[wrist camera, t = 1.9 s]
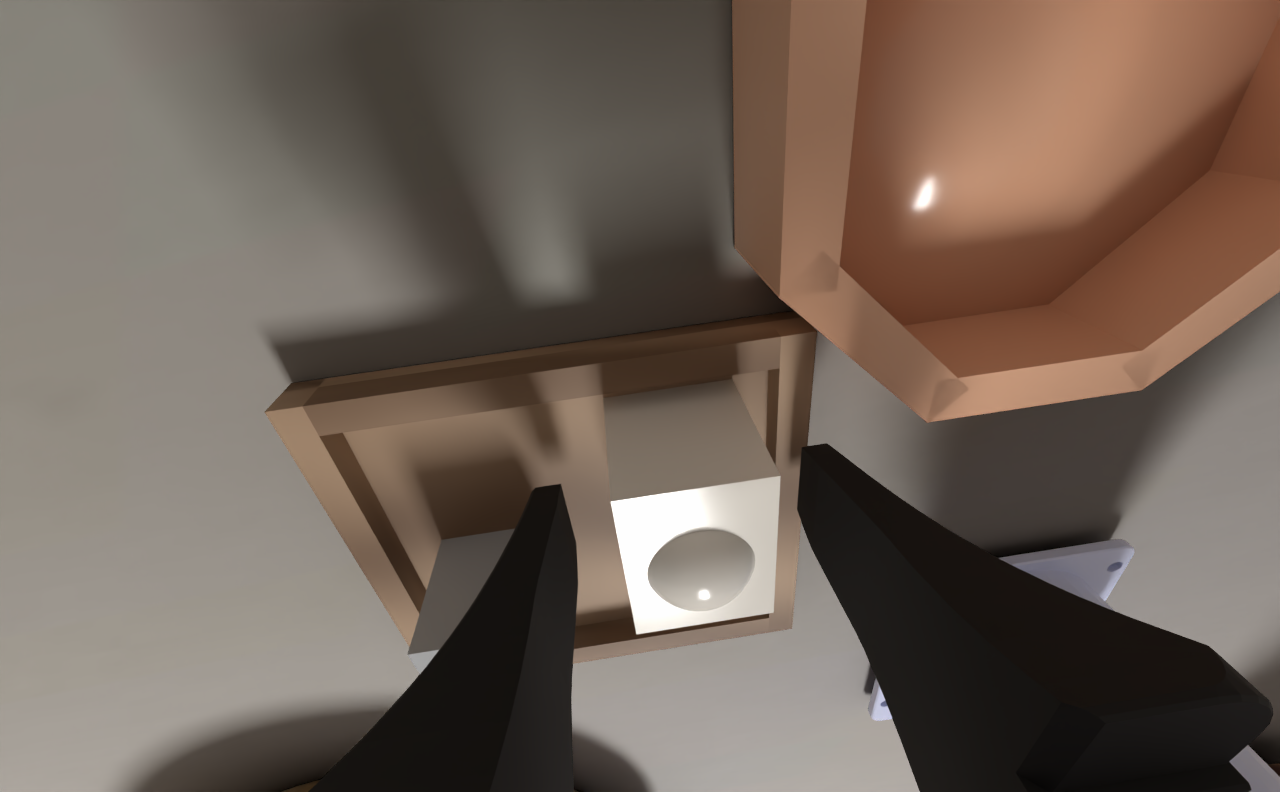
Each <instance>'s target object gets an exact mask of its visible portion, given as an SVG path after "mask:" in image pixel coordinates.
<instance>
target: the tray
mask: <svg viewBox="0 0 1280 792" xmlns="http://www.w3.org/2000/svg"><path fill="white" fill-rule="evenodd" d="M816 337H817V331H816V330H815V329H814V328H813V327H812V326H811V324H810V323H809V322H807V321H806V320H805V319H804V318H803V317H802V316H800V315H799V314H798V313H797V312H796V311H788V312H781V313H774V314H768V315H761V316H754V317H747V318H740V319H733V320H726V321H719V322H712V323H705V324H698V325H691V326H685V327H678V328H671V329H664V330H657V331H650V332H643V333H636V334H629V335H622V336H615V337H608V338H602V339H595V340H588V341H581V342H574V343H567V344H560V345H553V346H546V347H539V348H532V349H525V350H519V351H512V352H505V353H498V354H491V355H484V356H477V357H470V358H463V359H456V360H449V361H442V362H436V363H429V364H422V365H415V366H408V367H401V368H394V369H387V370H380V371H373V372H366V373H359V374H353V375H346V376H339V377H332V378H325V379H318V380H311V381H304V382H297V383H291V384H290V385H289V386H288V387H287V389H286V390H285V391H284V392H283V393H282V394H281V395H280V396H279V397H278V398H277V399H276V400H275V401H274V402H273V404H272V405H271V406H270V407H269V408H268V409H267V410H266V411H265V413H266V415H267V417H268V418H269V420H270V422H271V423H272V425H273V426H274V428H275V430H276V431H277V433H278V435H279V436H280V438H281V439H282V441H283V443H284V444H285V446H286V448H287V449H288V451H289V452H290V454H291V456H292V457H293V459H294V461H295V462H296V464H297V465H298V467H299V469H300V470H301V472H302V473H303V475H304V477H305V478H306V480H307V482H308V483H309V485H310V486H311V488H312V490H313V491H314V493H315V495H316V496H317V498H318V499H319V501H320V503H321V504H322V506H323V508H324V509H325V511H326V512H327V514H328V516H329V517H330V519H331V521H332V522H333V524H334V525H335V527H336V529H337V530H338V532H339V534H340V535H341V537H342V538H343V540H344V542H345V543H346V545H347V546H348V548H349V550H350V551H351V553H352V555H353V556H354V558H355V559H356V561H357V563H358V564H359V566H360V568H361V569H362V571H363V572H364V574H365V576H366V577H367V579H368V581H369V582H370V584H371V585H372V587H373V589H374V590H375V592H376V594H377V595H378V597H379V598H380V600H381V602H382V603H383V605H384V606H385V608H386V610H387V611H388V613H389V615H390V616H391V618H392V619H393V621H394V623H395V624H396V626H397V628H398V629H399V631H400V632H401V634H402V636H403V637H404V639H405V641H406V642H407V644H408V645H409V647H410V644H411V641H412V638H413V634H414V631H415V627H416V624H417V621H418V617H419V614H420V611H421V607H422V604H423V601H424V597H425V594H426V590H427V587H428V584H429V580H430V577H431V574H432V570H433V567H434V564H435V560H436V557H437V553H438V550H439V547H440V543H441V540H444V539H450V538H457V537H464V536H470V535H477V534H483V533H490V532H496V531H503V530H509V529H515V528H516V526H517V523H518V521H519V519H520V517H521V515H522V513H523V511H524V508H525V506H526V504H527V502H528V499H529V497H530V494H531V492H532V491H533V490H534V489H535V488H536V487H543V486H549V485H556V484H561V486H562V490H563V494H564V498H565V501H566V505H567V509H568V513H569V517H570V521H571V525H572V528H573V532H574V536H575V540H576V546H577V566H578V595H577V610H576V625H575V639H574V654H573V664H574V663H581V662H587V661H593V660H599V659H606V658H612V657H618V656H624V655H630V654H637V653H643V652H649V651H655V650H662V649H668V648H674V647H680V646H687V645H693V644H699V643H705V642H712V641H718V640H724V639H730V638H737V637H743V636H749V635H755V634H762V633H768V632H774V631H780V630H787V629H792V622H793V610H794V598H795V586H796V575H797V563H798V551H799V539H800V527H801V519H800V516H799V514H798V511H797V502H798V489H799V476H800V463H801V450H802V447H807V444H808V432H809V420H810V408H811V397H812V385H813V373H814V361H815V349H816ZM729 379H732V380H733V382H734V384H735V386H736V388H737V390H738V392H739V394H740V396H741V398H742V400H743V402H744V404H745V406H746V408H747V410H748V412H749V414H750V416H751V418H752V420H753V422H754V424H755V426H756V428H757V430H758V432H759V434H760V436H761V438H762V440H763V442H764V444H765V446H766V448H767V450H768V452H769V454H770V456H771V458H772V460H773V462H774V464H775V466H776V468H777V470H778V472H779V474H780V476H781V477H780V496H779V516H778V536H777V556H776V576H775V596H774V613H768V614H762V615H756V616H750V617H743V618H737V619H731V620H724V621H718V622H712V623H706V624H699V625H693V626H687V627H680V628H674V629H668V630H662V631H655V632H649V633H643V634H636V630H635V624H634V619H633V614H632V609H631V604H630V599H629V594H628V588H627V583H626V578H625V573H624V568H623V563H622V558H621V552H620V547H619V542H618V537H617V532H616V527H615V522H614V516H613V511H612V506H611V500H610V486H609V472H608V458H607V444H606V430H605V416H604V403H603V398H607V397H614V396H621V395H627V394H634V393H641V392H648V391H655V390H661V389H668V388H675V387H682V386H688V385H695V384H702V383H709V382H716V381H722V380H729Z"/></svg>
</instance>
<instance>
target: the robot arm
mask: <svg viewBox="0 0 1280 792" xmlns="http://www.w3.org/2000/svg"><path fill="white" fill-rule="evenodd" d="M797 511H798V514H799V516H800V519H801V522H802V525H803V527H804V530H805V533H806V535H807V538H808V540H809V543H810V545H811V548H812V550H813V552H814V554H815V556H816V558H817V560H818V561H819V563H820V565H821V567H822V569H823V571H824V573H825V575H826V577H827V579H828V581H829V582H830V584H831V586H832V588H833V590H834V592H835V594H836V596H837V598H838V599H839V601H840V603H841V605H842V607H843V609H844V611H845V613H846V614H847V616H848V618H849V620H850V622H851V624H852V626H853V628H854V630H855V631H856V633H857V635H858V638H859V640H860V642H861V644H862V646H863V648H864V650H865V652H866V655H867V657H868V659H869V662H870V664H871V667H872V669H873V672H874V674H875V676H876V679H875V683H874V687H873V691H872V694H871V698H870V702H869V706H868V711H869V714H870V716H871V718H872V719H873V720H877V721H882V720H888V719H893V721H894V724H895V726H896V729H897V731H898V734H899V737H900V739H901V742H902V744H903V747H904V750H905V753H906V755H907V758H908V761H909V763H910V766H911V769H912V772H913V774H914V777H915V780H916V782H917V785H918V788H919V791H920V792H1280V777H1279V776H1278V775H1277V774H1276V773H1275V772H1274V771H1273V770H1272V769H1271V768H1270V767H1269V766H1268V765H1267V764H1266V763H1265V762H1264V761H1263V760H1262V759H1261V758H1260V757H1259V756H1258V755H1257V754H1256V753H1255V752H1254V751H1253V750H1252V749H1251V748H1250V747H1249V746H1248V745H1249V744H1250V743H1251V742H1252V741H1253V740H1254V739H1255V738H1256V737H1258V736H1259V735H1260V734H1261V733H1262V732H1263V731H1264V729H1265V728H1266V727H1267V726H1268V725H1269V724H1270V721H1271V718H1272V716H1273V708H1272V706H1271V703H1270V701H1269V700H1268V699H1267V698H1266V697H1265V696H1264V695H1263V694H1261V693H1260V692H1259V691H1258V690H1257V689H1256V688H1255V687H1254V686H1253V685H1252V684H1250V683H1249V682H1248V681H1247V680H1246V679H1245V678H1244V677H1243V676H1242V675H1241V674H1239V673H1238V672H1237V671H1236V670H1235V669H1234V668H1233V667H1232V666H1231V665H1229V664H1228V663H1227V662H1226V661H1225V660H1224V659H1223V658H1222V657H1221V656H1220V655H1218V654H1217V653H1216V652H1215V651H1214V650H1213V649H1211V648H1210V647H1209V646H1207V645H1205V644H1202V643H1199V642H1196V641H1194V640H1191V639H1188V638H1185V637H1182V636H1180V635H1177V634H1174V633H1171V632H1169V631H1166V630H1163V629H1160V628H1158V627H1155V626H1152V625H1149V624H1147V623H1144V622H1141V621H1138V620H1136V619H1133V618H1130V617H1128V616H1125V615H1123V614H1120V613H1118V612H1115V611H1114V610H1113V609H1112V608H1111V607H1110V606H1109V605H1108V604H1107V603H1106V602H1105V601H1106V599H1107V597H1108V596H1109V594H1110V593H1111V591H1112V589H1113V588H1114V586H1115V584H1116V583H1117V581H1118V579H1119V578H1120V576H1121V575H1122V573H1123V571H1124V570H1125V568H1126V566H1127V565H1128V563H1129V562H1130V560H1131V558H1132V557H1133V555H1134V551H1135V550H1134V548H1133V547H1132V546H1131V545H1130V544H1129V543H1127V542H1126V541H1125V540H1122V539H1114V540H1108V541H1102V542H1095V543H1089V544H1083V545H1076V546H1070V547H1064V548H1057V549H1051V550H1045V551H1038V552H1032V553H1026V554H1019V555H1013V556H1007V557H1000V558H997V557H995V556H993V555H992V554H990V553H988V552H986V551H984V550H983V549H981V548H979V547H977V546H975V545H974V544H972V543H970V542H968V541H966V540H965V539H963V538H961V537H959V536H958V535H956V534H954V533H953V532H951V531H949V530H948V529H946V528H944V527H943V526H941V525H940V524H938V523H937V522H935V521H934V520H932V519H930V518H929V517H927V516H926V515H924V514H923V513H921V512H920V511H918V510H917V509H915V508H914V507H912V506H911V505H909V504H908V503H906V502H905V501H903V500H902V499H901V498H899V497H898V496H896V495H895V494H893V493H892V492H891V491H889V490H888V489H886V488H885V487H884V486H882V485H881V484H880V483H878V482H877V481H876V480H874V479H873V478H872V477H870V476H869V475H868V474H866V473H865V472H864V471H862V470H861V469H860V468H858V467H857V466H856V465H854V464H853V463H852V462H851V461H849V460H848V459H847V458H845V457H844V456H843V455H841V454H840V453H839V452H838V451H836V450H835V449H834V448H832V447H831V446H830V445H828V444H820V445H814V446H807V447H802V450H801V463H800V476H799V489H798V502H797ZM577 595H578V566H577V546H576V540H575V536H574V532H573V528H572V525H571V521H570V517H569V513H568V509H567V505H566V501H565V498H564V494H563V490H562V486H561V484H556V485H549V486H543V487H536V488H535V489H534V490H533V491H532V492H531V494H530V497H529V499H528V502H527V504H526V506H525V508H524V511H523V513H522V515H521V517H520V519H519V521H518V523H517V526H516V528H515V530H514V532H513V534H512V536H511V538H510V539H509V541H508V543H507V545H506V547H505V549H504V551H503V553H502V554H501V556H500V558H499V560H498V562H497V564H496V565H495V567H494V569H493V571H492V572H491V574H490V576H489V577H488V579H487V581H486V582H485V584H484V585H483V587H482V589H481V590H480V592H479V594H478V595H477V597H476V599H475V600H474V602H473V603H472V605H471V606H470V608H469V609H468V611H467V612H466V614H465V615H464V617H463V618H462V620H461V621H460V622H459V624H458V625H457V627H456V628H455V629H454V631H453V632H452V634H451V635H450V636H449V638H448V639H447V640H446V642H445V643H444V644H443V646H442V647H441V648H440V649H439V651H438V652H437V653H436V655H435V656H434V657H433V658H432V660H431V661H430V662H429V664H428V665H427V666H426V667H425V669H424V670H423V671H422V672H421V674H420V675H419V676H418V677H417V678H416V680H415V681H414V682H413V683H412V684H411V686H410V687H409V688H408V689H407V690H406V691H405V692H404V693H403V695H402V696H401V697H400V698H399V699H398V700H397V701H396V702H395V703H394V705H393V706H392V707H391V708H390V709H389V710H388V711H387V712H386V713H385V715H384V716H383V717H382V718H381V719H380V720H379V721H378V722H377V724H376V725H375V726H374V727H373V728H372V729H371V730H370V731H369V732H368V733H367V734H366V735H365V736H364V737H363V738H362V739H361V741H360V742H359V743H358V744H356V745H355V746H354V747H353V748H352V749H351V750H350V751H349V752H348V753H347V754H346V755H345V756H344V757H343V758H342V759H341V760H340V761H339V762H338V763H337V764H336V765H335V766H334V767H333V768H332V769H331V770H330V771H329V772H328V773H327V774H326V775H325V776H324V777H323V778H322V779H321V780H320V781H319V782H318V783H317V784H316V785H315V786H314V787H313V788H312V789H310V790H309V791H308V792H574V788H573V756H572V714H571V689H572V668H573V654H574V639H575V625H576V610H577Z"/></svg>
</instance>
